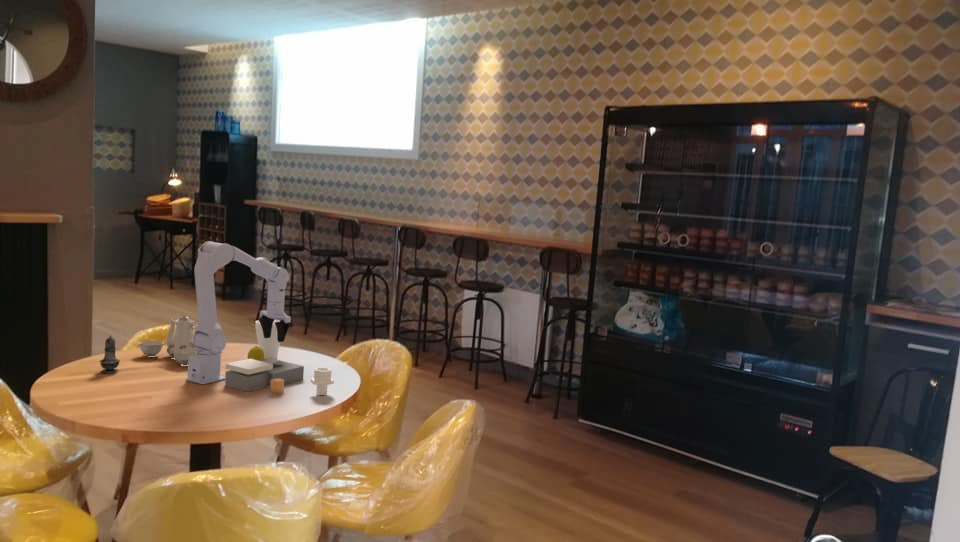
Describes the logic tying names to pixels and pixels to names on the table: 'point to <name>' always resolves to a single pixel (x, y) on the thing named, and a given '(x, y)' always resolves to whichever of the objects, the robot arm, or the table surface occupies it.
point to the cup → (268, 341)
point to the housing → (265, 376)
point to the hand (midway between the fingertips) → (274, 339)
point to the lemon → (256, 354)
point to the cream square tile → (249, 366)
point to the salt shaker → (109, 357)
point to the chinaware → (174, 341)
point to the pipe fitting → (322, 380)
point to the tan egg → (276, 386)
